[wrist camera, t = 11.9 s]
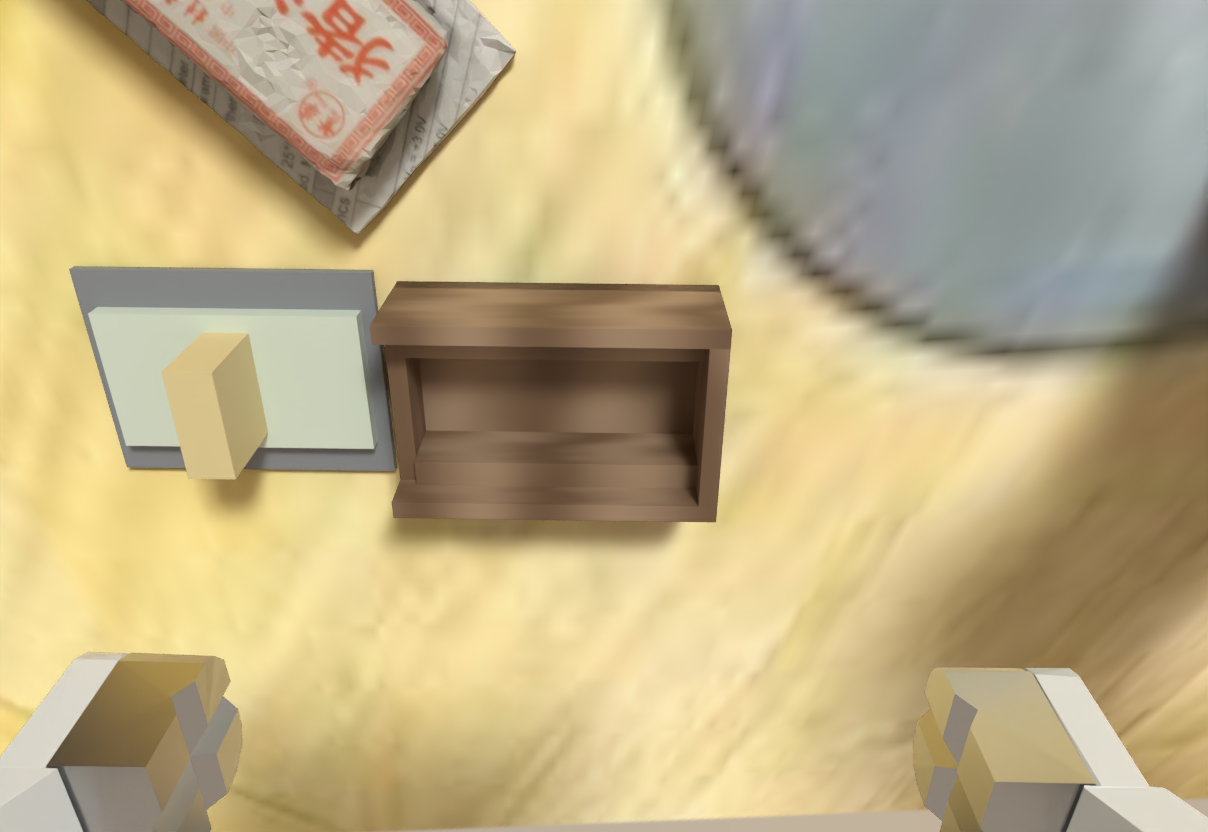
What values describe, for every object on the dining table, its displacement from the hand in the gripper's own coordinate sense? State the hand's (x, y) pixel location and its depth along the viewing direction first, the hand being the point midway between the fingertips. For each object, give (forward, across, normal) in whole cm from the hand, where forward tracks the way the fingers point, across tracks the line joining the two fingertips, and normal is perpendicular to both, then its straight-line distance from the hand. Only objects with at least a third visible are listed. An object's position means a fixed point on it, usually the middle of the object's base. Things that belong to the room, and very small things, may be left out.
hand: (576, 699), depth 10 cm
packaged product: (+30, +13, -7) cm, 33 cm away
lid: (+29, +16, +10) cm, 34 cm away
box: (+29, +2, +10) cm, 31 cm away
